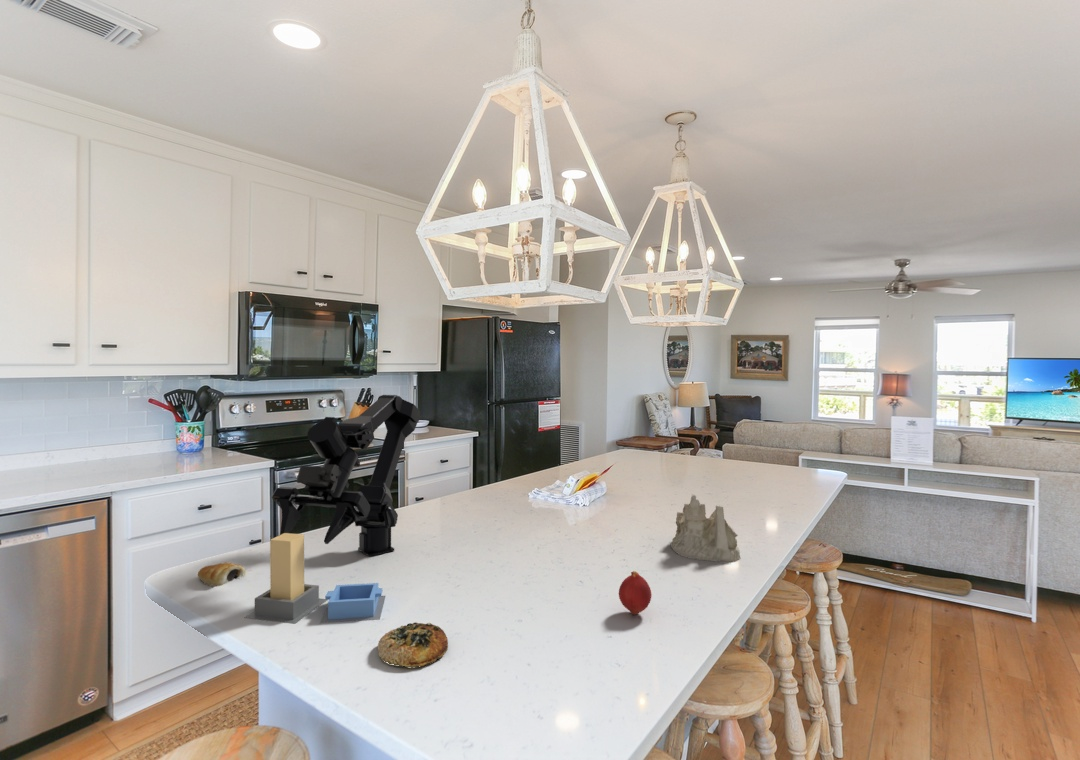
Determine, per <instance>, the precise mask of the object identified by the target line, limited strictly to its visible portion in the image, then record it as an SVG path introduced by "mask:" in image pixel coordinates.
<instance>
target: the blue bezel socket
mask: <svg viewBox="0 0 1080 760" xmlns="http://www.w3.org/2000/svg"><path fill="white" fill-rule="evenodd" d="M379 584H380V583H379V582H373V583H372V582H371V583H370V582H369V583H352V584H351V583H350V584H336V586H335V587H334V589H333V590H328V591H327V592H326V594H325V597H324V599H325V600H327V601H328V602H327V607H326V609H325V610H324V613H323V614H322V617H321V619H320V621H319V624H330V623H344V622H345V623H346V622H348V623H349V622H360V621H361V622H362V621H363V622H364V621H374V620H375V621H379V620H381V616H382V612H383V608H384V604H385V601H386V595H382V594H383V587H381V588H379Z"/></svg>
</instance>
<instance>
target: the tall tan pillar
mask: <svg viewBox="0 0 1080 760" xmlns="http://www.w3.org/2000/svg"><path fill="white" fill-rule="evenodd" d="M269 540H270V541H269V543H270V544H269V547H270V548H269V549H270V550H269V552H270V557H269V559H270V560H269V561H270V563H269V567H270V568H269V569H270V570H269V571H270V573H269V574H270V577H269V579H270V581H269V582H270V586H269V590H270V598H276V599H285V600H293V599H295V598H296V597H298V596H299V595H301V594H302V593H304V584H305V534H301V533H291V532H290V533H284V534H281V535H280V534H279V535H277V536H275V537H273V538H271V539H269Z"/></svg>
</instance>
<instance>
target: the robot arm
mask: <svg viewBox="0 0 1080 760" xmlns="http://www.w3.org/2000/svg"><path fill="white" fill-rule="evenodd" d="M420 419H421V411H420V409H419V408H418V407H417V406H416V405H415V404H414V403H412V402H409V401H407V400H405V399H403V398H402V397H401V396H400V395H397V394H382V395H379V396H378V398H377V400H376V401H375V402H374V403H373V404H371V405H370V406H369V407H367V408H366V409H365V410H364V411H363V412H361V413H360V414H359V415H358V416H355V417H351V418H348V419H345V420H342V421H340V422H339V423H338V421H337V419H336V417H334V416H325V417H324V419H323V420H321V421H319V422H317V423H315V424H313V425H312V426H311V427H310V428H309V430H308V431H307V433H306V434H307V439H308V440H309V442H310V443H311V445H312V446H313V448H314V449H315V451H316V452H317V453H318V455H319V456H320V458H322V459H325V460H324V463H323V465H322V466H316V465H315V466H314V465H313V466H312V465H300V466H299V469H298V474H297V477H296V483H298V484H302V485H304V490H305V491H306V492H308V495H307V494H301V492H300V491H299V490H298V488H297V487H289V486H278V487H277V488H276V489H275V490H274V492H273V493H272V496H271V498H272V500H273V501H274V503H276V504H277V506H279V508H280V509H281V523H280V532H279V535H281V534H284V533H291V532H292V531H293V529H294V527H295V526H296V524H297V523H298V522H299V520H300V519H301V517H302V514H301V513H300V512H302V511H304V509H305V507H306V506H310V507H311V506H312V507H321V508H322V507H324V508H335V513H334V516H333V518H332V520H331V523H330V524H329V527H328V529H327V531H326V533H325V536H324V540H323V541H324V544H325V545H328V544H330V543H331V542H332V541H333V540H334V539H335V538H336V537H337V536H338V535H340V534H341V533H342V532H343V531H344V530H346V529H347V528H348V527H350V526H351V525H352V524H355V525H354V526H355V527H360V528H361V529H360V532H359V535H358V541H359V542H358V546H359V547H357V550H358V551H359V552H361V553H363V554H364V555H366V556H369V557H373V556H377V555H380V554H385V553H390V552H395V547H393V546H392V528H394V527H396V525H397V524H398V516H399V515H398V512H397V511H396V510H395V508H394V506H393V502H394V501H393V497H392V494H391V490H390V489H391V486H392V482H393V479H394V476H395V473H396V469H397V467H398V463H399V460H400V456H401V454H402V450H403V447H404V443H405V440H406V439H407V438H408V437H409V436H411V434H413V432H414V431H415V430H416V427H417V425H418V423H419V421H420ZM383 423H384V424H385V429H386V434H385V436H384V440H383V443H382V446H381V449H380V452H379V454H378V457H377V461H376V462H375V463H376V464H375V467H374V469H373V472H372V475H371V478H370V481H369V483H368V484H367V485H360V487H359V488H358V490H357V491H355V490H349V486H350V483H349V482H348V481H349V478H350V476H351V474H352V472H353V469H354V467H358V468H359V467H360V466H361V461H360V459H359V455H358V454H357V453H356V451H355V450H366V449H367V448H368V447H369V446H370V445H371V443H372V442H373V440H374V439H375V434H374V433H375V431H376V430H377V429H378V428H379V427H381V425H383ZM345 489H348V490H345Z"/></svg>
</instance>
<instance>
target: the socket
mask: <svg viewBox="0 0 1080 760" xmlns="http://www.w3.org/2000/svg"><path fill="white" fill-rule="evenodd" d="M319 587H320V585H317V584H306V583H304V593H302V594H301V595H299V596H298V597H296V598H295V599H293V600H285V599H276V598H270V589H267V591H265V592H263V593H262V594H260V595H258V596H256V597H254V611H252V612H251V613H249V614H248V615H246V616H244V617H243V618H244V619H251V620H257V621H267V622H277V623H284V624H298V622H300V621H301V620H303V619H304V618H305V617H307V616H308V615H310V614H311V613H312V612H313V611H315V610H316V609H317V608H319V607H320V606H322V605H324V603H326V602H327V601H328V600H325V598H320V593H319V591H320V588H319Z"/></svg>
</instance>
